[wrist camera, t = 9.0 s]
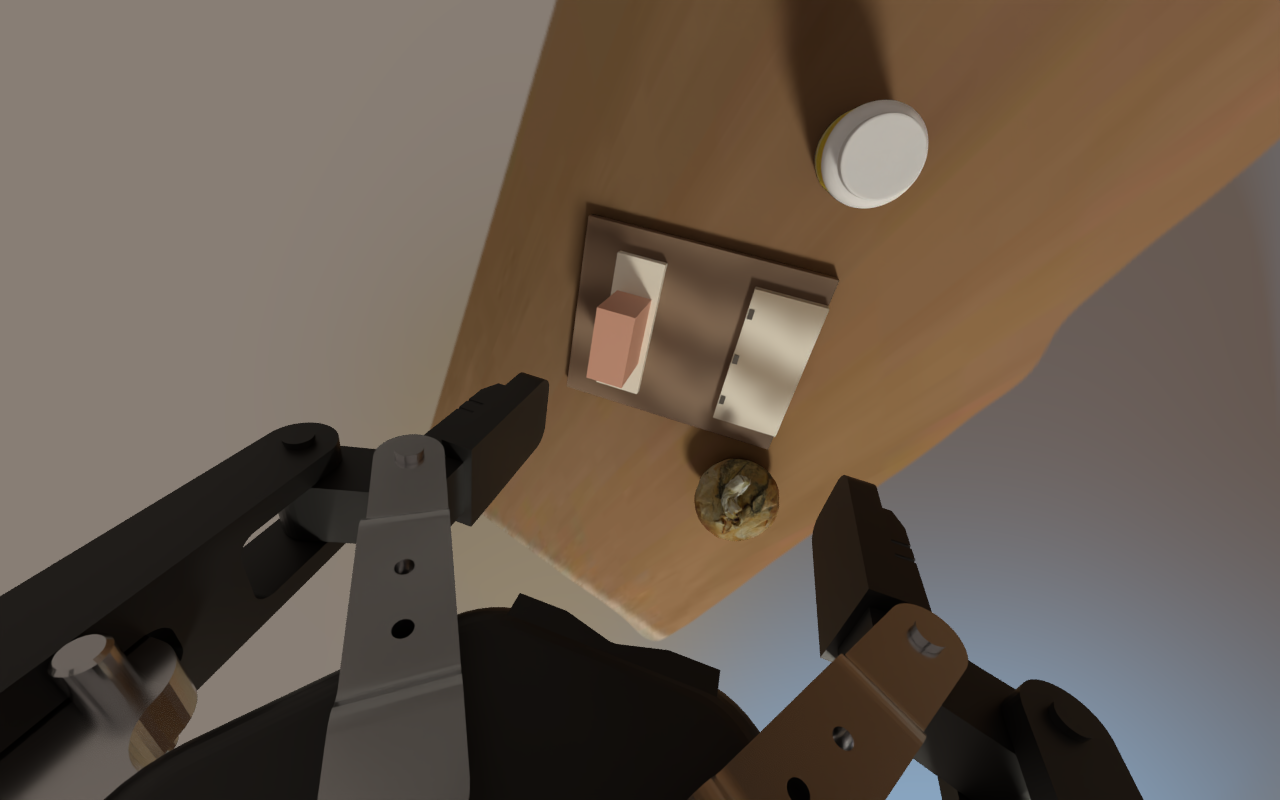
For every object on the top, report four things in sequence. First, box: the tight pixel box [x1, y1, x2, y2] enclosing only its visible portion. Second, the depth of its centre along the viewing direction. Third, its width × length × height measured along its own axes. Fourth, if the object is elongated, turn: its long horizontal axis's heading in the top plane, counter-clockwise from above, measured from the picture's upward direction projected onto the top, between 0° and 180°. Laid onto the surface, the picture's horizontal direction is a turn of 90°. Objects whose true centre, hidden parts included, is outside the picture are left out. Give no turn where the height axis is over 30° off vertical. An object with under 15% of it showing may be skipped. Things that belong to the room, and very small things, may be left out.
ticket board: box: [567, 214, 839, 449], centre depth 40 cm, size 16×20×2 cm
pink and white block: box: [586, 251, 667, 394], centre depth 38 cm, size 12×4×6 cm, turn 169°
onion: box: [695, 459, 779, 541], centre depth 43 cm, size 8×8×8 cm
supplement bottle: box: [815, 100, 928, 208], centre depth 27 cm, size 5×5×10 cm
